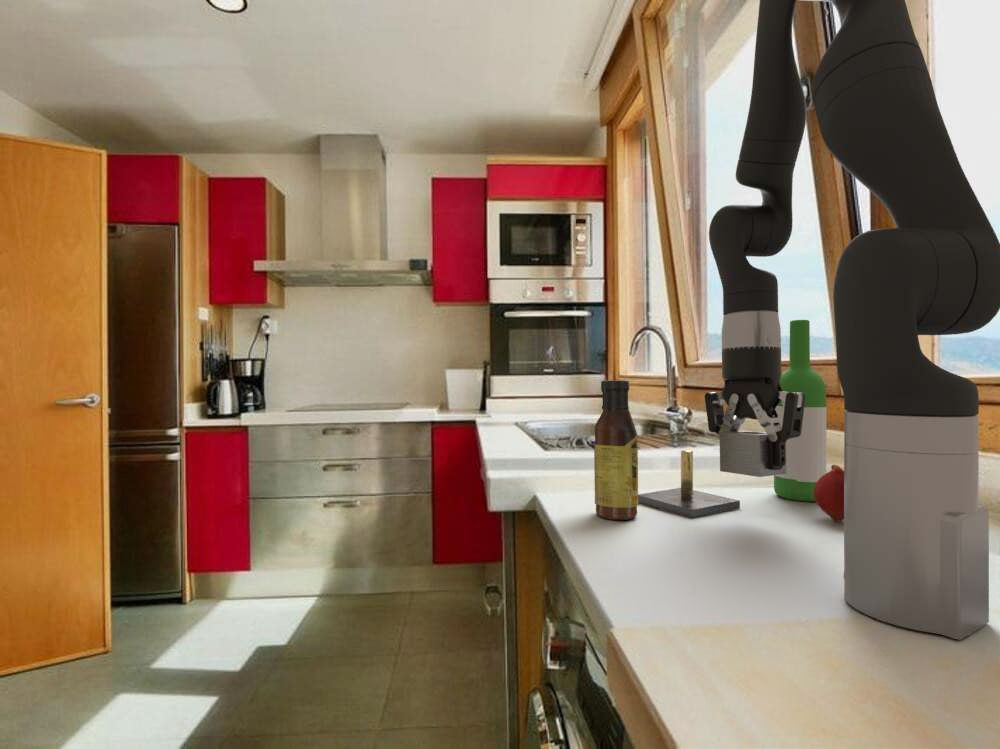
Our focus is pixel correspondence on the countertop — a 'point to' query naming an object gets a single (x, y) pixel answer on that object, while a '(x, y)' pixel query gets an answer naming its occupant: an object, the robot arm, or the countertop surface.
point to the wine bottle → (811, 445)
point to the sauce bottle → (616, 455)
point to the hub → (688, 495)
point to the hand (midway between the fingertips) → (752, 466)
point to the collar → (746, 454)
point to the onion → (831, 493)
